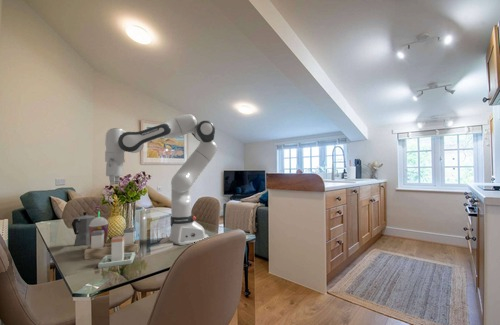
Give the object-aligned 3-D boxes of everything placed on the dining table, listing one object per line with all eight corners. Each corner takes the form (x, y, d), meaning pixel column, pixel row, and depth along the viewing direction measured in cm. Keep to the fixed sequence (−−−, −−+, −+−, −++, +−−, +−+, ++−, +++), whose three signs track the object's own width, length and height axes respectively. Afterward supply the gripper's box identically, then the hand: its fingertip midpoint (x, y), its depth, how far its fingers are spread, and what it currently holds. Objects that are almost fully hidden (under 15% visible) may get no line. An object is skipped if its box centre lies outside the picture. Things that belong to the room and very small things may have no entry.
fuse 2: (134, 249, 111) (134, 227, 112) (133, 252, 107) (133, 229, 108) (125, 251, 110) (125, 228, 110) (123, 253, 106) (123, 230, 106)
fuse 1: (104, 253, 107) (104, 229, 107) (101, 256, 103) (101, 232, 104) (93, 254, 106) (94, 230, 106) (90, 257, 102) (91, 232, 102)
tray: (135, 258, 104) (135, 251, 104) (131, 267, 95) (131, 259, 95) (105, 262, 100) (105, 255, 100) (98, 271, 91) (98, 264, 91)
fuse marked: (124, 260, 100) (124, 235, 100) (122, 264, 96) (122, 238, 96) (113, 262, 99) (113, 236, 99) (111, 265, 95) (111, 239, 95)
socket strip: (139, 251, 113) (139, 240, 113) (137, 256, 107) (137, 244, 107) (89, 257, 106) (90, 245, 107) (84, 263, 100) (84, 250, 100)
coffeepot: (84, 241, 131) (84, 210, 132) (100, 241, 131) (101, 209, 132) (62, 250, 116) (63, 215, 116) (81, 250, 116) (82, 215, 117)
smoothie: (90, 250, 116) (91, 210, 117) (109, 247, 119) (110, 209, 120) (86, 255, 108) (86, 213, 109) (106, 253, 112) (107, 212, 113)
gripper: (117, 157, 113) (116, 185, 112) (125, 159, 132) (125, 183, 131) (102, 157, 111) (102, 185, 110) (112, 159, 130) (112, 183, 129)
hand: (114, 184), depth 121 cm, fingers open, 8 cm apart
